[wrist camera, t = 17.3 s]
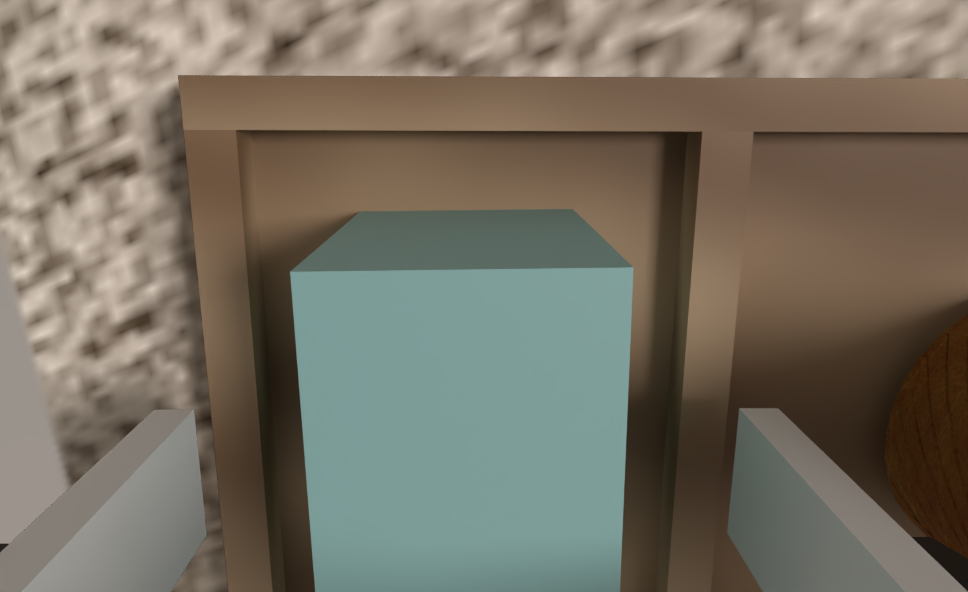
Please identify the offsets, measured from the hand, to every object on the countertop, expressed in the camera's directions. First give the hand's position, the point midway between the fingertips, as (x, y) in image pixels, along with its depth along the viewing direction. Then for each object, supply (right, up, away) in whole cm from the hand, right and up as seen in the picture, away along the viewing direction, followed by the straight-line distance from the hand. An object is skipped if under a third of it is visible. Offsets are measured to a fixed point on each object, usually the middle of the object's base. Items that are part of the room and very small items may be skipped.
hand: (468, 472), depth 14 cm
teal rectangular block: (0, 0, +2) cm, 2 cm away
